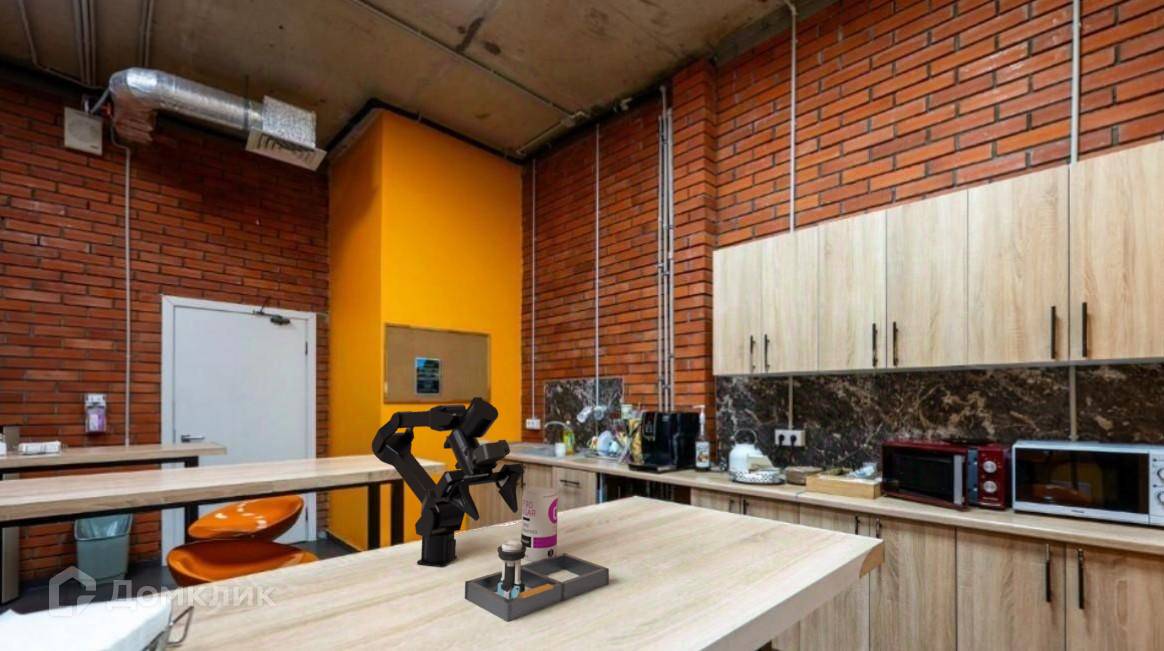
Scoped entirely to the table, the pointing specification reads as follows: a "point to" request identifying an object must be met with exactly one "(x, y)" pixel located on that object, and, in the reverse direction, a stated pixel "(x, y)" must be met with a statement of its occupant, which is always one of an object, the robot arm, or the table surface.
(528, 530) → the supplement can
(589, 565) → the grey divided tray
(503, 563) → the push button
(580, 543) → the table surface
